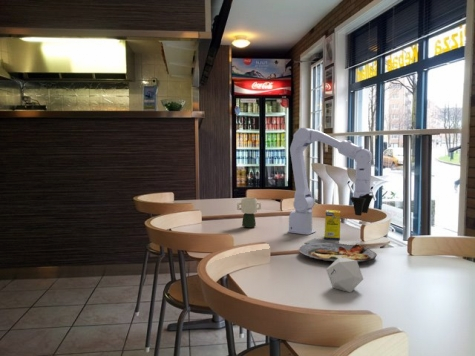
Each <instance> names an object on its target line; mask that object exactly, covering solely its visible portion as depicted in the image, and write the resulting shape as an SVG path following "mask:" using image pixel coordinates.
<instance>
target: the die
mask: <svg viewBox="0 0 475 356" xmlns="http://www.w3.org/2000/svg"><path fill="white" fill-rule="evenodd" d="M325 271H326V274H327V276H328V279H329V282H330V284H331V286H332V288H333V289H335V290H339V291H344V292H347V293H351V292H352V291H354V289H356V287H357V286H358V285H360V284H361V282H363V280H364V277H363V274H362V272H361V268H360V266H359V262H357V261H356V260H351V259H346V258H342V257H339V258H338V259H337V260H336V261H332V263H331V264H330V265H329V266H328V267H327V268H326V270H325Z"/></svg>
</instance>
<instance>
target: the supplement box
mask: <svg viewBox="0 0 475 356" xmlns="http://www.w3.org/2000/svg"><path fill="white" fill-rule="evenodd" d="M324 211H325V213H324V215H325V216H324V219H325V220H324V240H331V241H337V240H338V241H340V240H341V214H342V213H341V210H335V209H334V210H333V209H325V210H324Z"/></svg>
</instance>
